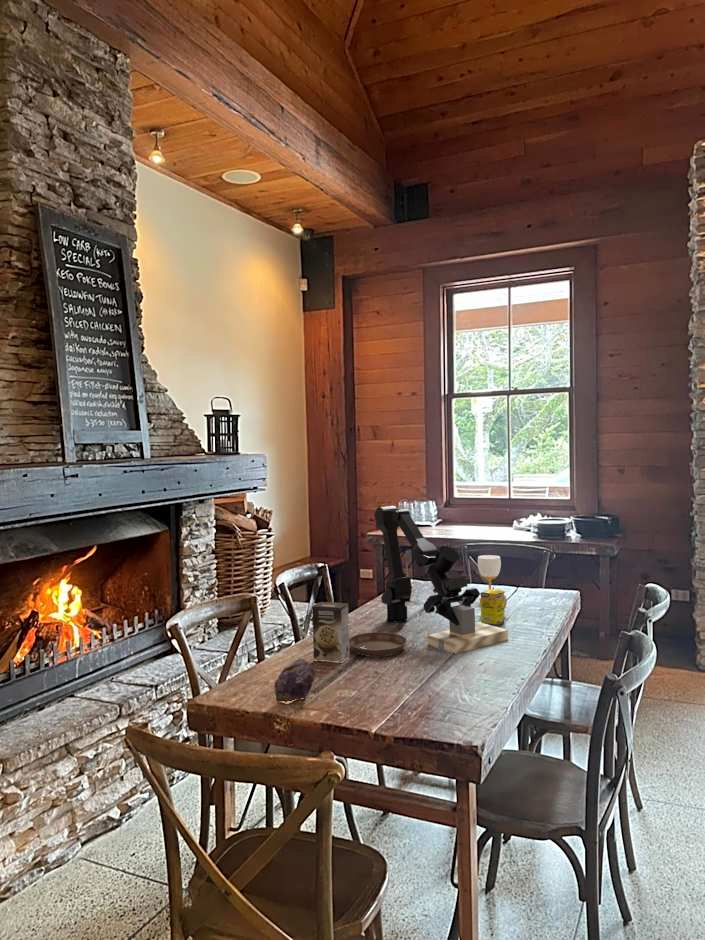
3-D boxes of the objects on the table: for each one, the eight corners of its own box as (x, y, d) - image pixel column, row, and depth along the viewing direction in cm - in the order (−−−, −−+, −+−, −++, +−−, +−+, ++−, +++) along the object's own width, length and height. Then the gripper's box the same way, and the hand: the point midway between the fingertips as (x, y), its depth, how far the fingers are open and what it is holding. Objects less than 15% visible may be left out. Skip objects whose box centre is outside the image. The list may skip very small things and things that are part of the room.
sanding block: (449, 633, 221) (448, 607, 220) (462, 630, 223) (461, 604, 223) (462, 637, 216) (461, 610, 215) (475, 634, 218) (474, 608, 218)
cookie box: (312, 661, 207) (310, 606, 206) (321, 655, 213) (319, 600, 212) (342, 664, 204) (340, 607, 203) (350, 657, 210) (348, 602, 209)
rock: (270, 708, 176) (308, 711, 173) (265, 676, 174) (304, 678, 171) (289, 685, 187) (326, 687, 183) (285, 654, 185) (321, 656, 182)
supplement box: (497, 627, 237) (496, 594, 236) (480, 624, 240) (479, 592, 240) (505, 622, 241) (504, 590, 241) (488, 620, 245) (488, 588, 244)
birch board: (455, 654, 210) (454, 643, 209) (427, 644, 219) (427, 635, 219) (508, 639, 222) (507, 629, 222) (479, 631, 232) (479, 622, 232)
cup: (506, 597, 277) (505, 556, 276) (493, 602, 270) (492, 559, 269) (486, 594, 283) (485, 554, 282) (473, 599, 276) (472, 557, 276)
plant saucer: (418, 651, 214) (418, 641, 214) (368, 663, 205) (368, 652, 205) (385, 638, 229) (385, 629, 229) (337, 648, 220) (336, 638, 220)
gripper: (428, 569, 217) (452, 613, 208) (475, 562, 227) (500, 603, 218) (413, 591, 224) (436, 634, 215) (459, 583, 234) (483, 623, 225)
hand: (465, 623), depth 218 cm, fingers closed on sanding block, 5 cm apart
